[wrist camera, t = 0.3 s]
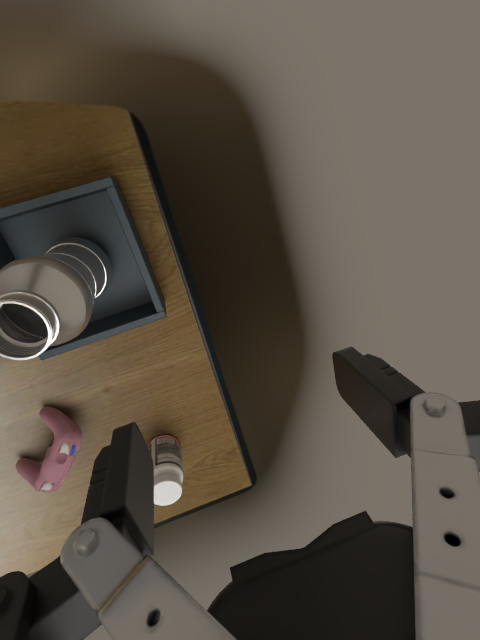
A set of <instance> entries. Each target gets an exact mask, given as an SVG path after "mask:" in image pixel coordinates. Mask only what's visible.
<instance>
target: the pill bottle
mask: <svg viewBox="0 0 480 640" xmlns="http://www.w3.org/2000/svg"><path fill="white" fill-rule="evenodd" d="M148 448H149V451H150V453H151V456H152V460H153V465H154V504H156V505H161V506H165V505H170V504H172V503H174V502H176V501H177V500H178V499H179V498H180V496H181V494H182V481H183V467H182V460H181V450H180V444H179V442H178V440H177V439H176V438H174V437H172V436H169V435H162V436H159V437H156V438H154V439H153V440H152V441H151V442H150V443H149V445H148Z"/></svg>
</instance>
